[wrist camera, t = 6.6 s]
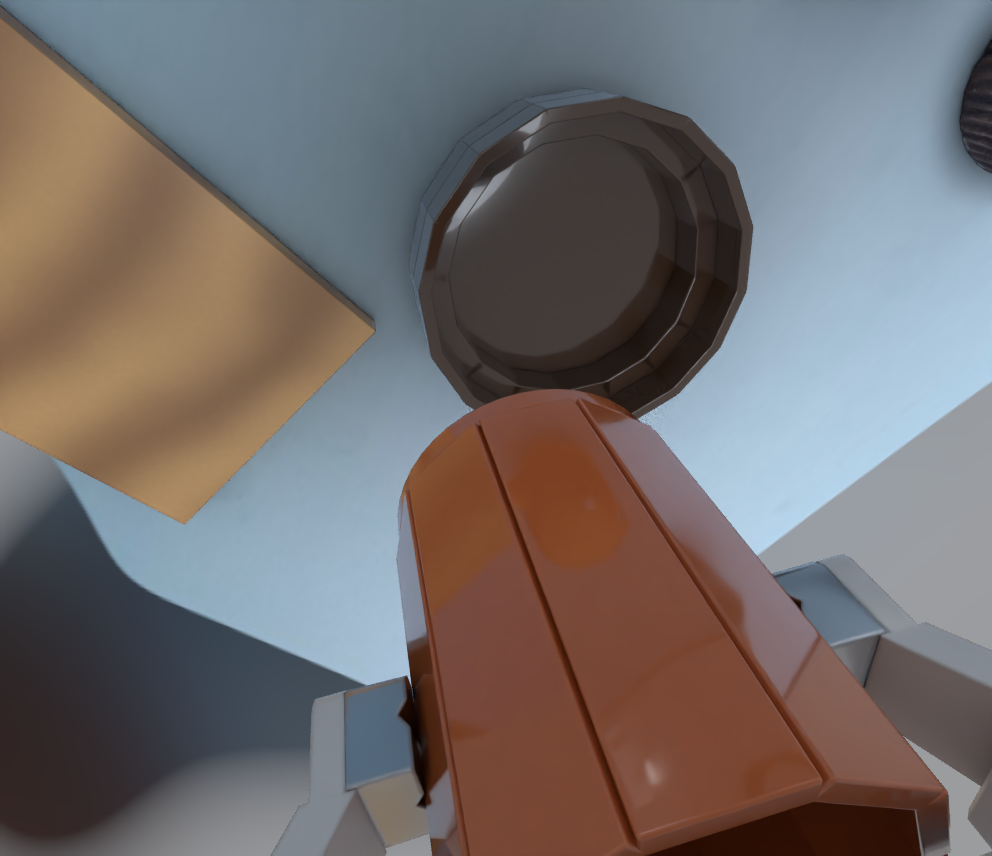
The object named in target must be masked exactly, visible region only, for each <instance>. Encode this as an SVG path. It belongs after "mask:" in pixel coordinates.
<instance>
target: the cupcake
mask: <svg viewBox="0 0 992 856" xmlns="http://www.w3.org/2000/svg"><path fill="white" fill-rule="evenodd" d="M960 125H961V131H962V134H963V142H964V144H965V147H966V149H967V151H968V153H969V154H970V155H971V156H972V158H973V159H974V160H975V162H976V163H977V165H979V166H980V167H982V168H983V169H984V170H986V171H988V172H990V173H992V40H991V41H990V43H989V45H988V46H987V48H986V52H985V55H984V56H983V57H982V59H981V60H980V61H979V63H978V64H977V65H976V67H975V69H974V71H973V74H972V76H971V78H970V80H969V83H968V85H967V87H966V90H965V92H964V100H963V107H962V113H961V118H960Z"/></svg>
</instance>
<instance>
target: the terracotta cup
mask: <svg viewBox="0 0 992 856" xmlns="http://www.w3.org/2000/svg"><path fill="white" fill-rule="evenodd" d="M398 533H399V544H398V552H397V559H396V560H397V568H398V576H399V585H400V593H401V601H402V609H403V618H404V626H405V634H406V643H407V651H408V659H409V668H410V676H411V684H412V693H413V701H414V709H415V718H416V726H417V734H418V742H419V751H420V759H421V767H422V776H423V784H424V792H425V801H426V809H427V817H428V826H429V834H430V842H431V851H432V856H948V853H950V851H951V850H952V849H951V832H950V813H949V796H948V792H947V790H946V789H945V788H944V787H943V785H942V784H941V783H940V782H939V780H938V779H937V778H936V777H935V775H934V774H933V773H932V772H931V771H930V769H929V768H928V767H927V765H926V764H925V763H924V762H923V761H922V759H921V758H920V757H919V756H918V754H917V753H916V752H915V751H914V750H913V748H912V747H911V746H910V745H909V743H908V742H907V741H906V740H905V738H904V737H903V736H902V735H901V733H900V732H899V731H898V730H897V728H896V727H895V726H894V725H893V723H892V722H891V721H890V720H889V719H888V717H887V716H886V715H885V714H884V712H883V711H882V710H881V709H880V707H879V706H878V705H877V704H876V703H875V701H874V700H873V699H872V698H871V696H870V695H869V694H868V693H867V691H866V690H865V689H864V688H863V686H862V685H861V684H860V683H859V682H858V680H857V679H856V678H855V677H854V675H853V674H852V673H851V672H850V670H849V669H848V668H847V667H846V665H845V664H844V663H843V662H842V661H841V659H840V658H839V657H838V656H837V654H836V653H835V652H834V651H833V649H832V648H831V647H830V646H829V644H828V643H827V642H826V641H825V640H824V638H823V637H822V636H821V635H820V633H819V632H818V631H817V630H816V628H815V627H814V626H813V625H812V623H811V622H810V621H809V620H808V619H807V617H806V616H805V615H804V614H803V612H802V611H801V610H800V609H799V607H798V606H797V605H796V604H795V602H794V601H793V600H792V599H791V598H790V596H789V595H788V594H787V593H786V591H785V590H784V589H783V588H782V586H781V585H780V584H779V583H778V581H777V580H776V579H775V578H774V577H773V575H772V574H771V573H770V572H769V570H768V569H767V568H766V567H765V565H764V564H763V563H762V562H761V561H760V559H759V558H758V557H757V556H756V554H755V553H754V552H753V551H752V549H751V548H750V547H749V546H748V544H747V543H746V542H745V541H744V539H743V538H742V537H741V536H740V535H739V533H738V532H737V531H736V530H735V528H734V527H733V526H732V525H731V523H730V522H729V521H728V520H727V519H726V517H725V516H724V515H723V514H722V512H721V511H720V510H719V509H718V507H717V506H716V505H715V504H714V502H713V501H712V500H711V499H710V498H709V496H708V495H707V494H706V493H705V491H704V490H703V489H702V488H701V486H700V485H699V484H698V483H697V481H696V480H695V479H694V478H693V477H692V475H691V474H690V473H689V472H688V470H687V469H686V468H685V467H684V465H683V464H682V463H681V462H680V460H679V459H678V458H677V457H676V456H675V454H674V453H673V452H672V451H671V449H670V448H669V447H668V446H667V444H666V443H665V442H664V441H663V439H662V438H661V437H660V436H659V435H658V433H657V432H656V431H655V430H653V429H652V427H651V426H649V425H647V424H644V423H642V422H640V421H639V420H638V419H637V418H636V417H635V416H634V415H633V414H632V413H630V412H629V411H628V410H626V409H625V408H624V407H622V406H620V405H618V404H616V403H615V402H613V401H611V400H609V399H606V398H603V397H601V396H598V395H595V394H591V393H587V392H582V391H577V390H566V389H544V390H534V391H528V392H522V393H517V394H514V395H510V396H507V397H503V398H500V399H497V400H495V401H493V402H490V403H488V404H485V405H483V406H481V407H479V408H477V409H475V410H473V411H472V412H470V413H468V414H466V415H464V416H463V417H461V418H460V419H459V420H457V421H456V422H454V423H453V424H452V425H450V426H449V427H447V428H446V429H445V430H444V431H443V432H442V433H441V434H440V435H439V436H438V437H436V438H435V439H434V440H433V441H432V442H431V444H430V445H429V446H428V447H427V448H426V449H425V451H424V452H423V453H422V454H421V456H420V457H419V459H418V460H417V462H416V463H415V465H414V466H413V468H412V469H411V471H410V474H409V476H408V478H407V480H406V482H405V484H404V487H403V490H402V494H401V497H400V501H399V508H398Z"/></svg>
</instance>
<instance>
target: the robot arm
mask: <svg viewBox="0 0 992 856" xmlns="http://www.w3.org/2000/svg"><path fill="white" fill-rule="evenodd" d="M772 575H773V577H774V578H775V579H776V580H777V581H778V583H779V584H780V585H781V586H782V588H783V589H784V590H785V591H786V593H787V594H788V595H789V596H790V598H791V599H792V600H793V601H794V602H795V604H796V605H797V606H798V607H799V609H800V610H801V611H802V612H803V614H804V615H805V616H806V617H807V619H808V620H809V621H810V622H811V623H812V625H813V626H814V627H815V628H816V630H817V631H818V632H819V633H820V635H821V636H822V637H823V638H824V640H825V641H826V642H827V643H828V644H829V646H830V647H831V648H832V649H833V651H834V652H835V653H836V654H837V656H838V657H839V658H840V659H841V661H842V662H843V663H844V664H845V665H846V667H847V668H848V669H849V670H850V672H851V673H852V674H853V675H854V677H855V678H856V679H857V680H858V682H859V683H860V684H861V685H862V686H863V688H864V689H865V690H866V691H867V693H868V694H869V695H870V696H871V698H872V699H873V700H874V701H875V703H876V704H877V705H878V706H879V707H880V709H881V710H882V711H883V712H884V714H885V715H886V716H887V717H888V719H889V720H890V721H891V722H892V723H893V725H894V726H895V727H896V728H897V730H898V731H899V732H900V733H901V735H902V736H904V737H906V738H907V739H909V740H910V741H912V742H913V743H915V744H916V745H918V746H920V747H921V748H923V749H924V750H926V751H927V752H929V753H930V754H932V755H934V756H935V757H937V758H938V759H940V760H941V761H943V762H944V763H946V764H948V765H949V766H951V767H952V768H954V769H955V770H957V771H958V772H960V773H961V774H963V775H964V776H966V777H967V778H969V779H971V780H972V781H974V782H975V783H977V784H978V785H980V786H981V788H980V790H979V792H978V793H977V795H976V797H975V799H974V800H973V802H972V804H971V806H970V808H969V812H968V820H969V821H970V822H971V824H972V825H973V826H974V827H975V828H976V830H977V831H978V832H979V834H980V835H981V836H982V837H983V839H984V840H985V841H986V842H987V844H988V845H989V846H990V847H991V848H992V650H989V649H987V648H985V647H982V646H980V645H978V644H976V643H973V642H971V641H969V640H966V639H964V638H962V637H959V636H957V635H954V634H952V633H950V632H948V631H945V630H943V629H941V628H938V627H936V626H934V625H931V624H929V623H927V622H926V623H921V624H917V623H916V622H915V621H914V620H913V619H912V618H911V617H910V616H909V615H908V614H907V613H906V612H905V611H904V610H903V609H902V608H901V607H900V606H899V605H898V604H897V603H896V602H895V601H894V600H893V599H892V598H891V597H890V596H889V595H888V594H887V593H886V592H885V591H884V590H883V589H882V588H881V587H880V586H879V585H878V584H877V583H876V582H875V581H874V580H873V579H872V578H871V577H870V576H869V575H868V574H867V573H866V572H865V571H864V570H863V569H862V568H861V567H860V566H859V565H858V564H857V563H856V562H855V561H854V560H853V559H851V558H850V557H848V556H846V555H844V554H843V555H837V556H834V557H830V558H827V559H824V560H821V561H817V562H810V563H806V564H803V565H800V566H796V567H793V568H789V569H786V570H783V571H779V572H776V573H772ZM311 716H312V717H311V744H310V773H309V802H308V803H306V804H303V805H301V806H299V807H298V808H297V810H296V812H295V814H294V816H293V817H292V819H291V821H290V823H289V824H288V826H287V828H286V830H285V831H284V833H283V835H282V837H281V838H280V840H279V842H278V844H277V845H276V847H275V849H274V851H273V852H272V854H271V856H385V855H386V850H385V848H388V847H390V846H393V845H396V844H399V843H402V842H405V841H408V840H411V839H414V838H417V837H420V836H423V835H426V834H429V826H428V817H427V809H426V801H425V792H424V784H423V776H422V767H421V759H420V751H419V742H418V734H417V726H416V718H415V709H414V702H413V695H412V687H411V685H410V682H409V679H408V677H407V676H403V677H399V678H395V679H391V680H387V681H383V682H379V683H375V684H371V685H367V686H363V687H360V688H356V689H352V690H348V691H343V692H340V693H336V694H332V695H328V696H325V697H322V698H318V699H315V701H314V704H313V707H312V715H311ZM980 856H992V852H989V853H986V854H983V855H980Z"/></svg>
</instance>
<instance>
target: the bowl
mask: <svg viewBox="0 0 992 856" xmlns="http://www.w3.org/2000/svg"><path fill="white" fill-rule="evenodd" d="M752 234H753V224H752V221H751V217H750V214H749V211H748V208H747V204H746V201H745V198H744V194H743V191H742V188H741V184H740V181H739V178H738V174H737V171H736V168H735V166H734V164H733V163H732V162H731V161H730V159H729V158H728V157H727V156H726V155H725V154H724V153H723V152H722V151H721V150H720V149H719V148H718V147H717V146H716V145H715V144H714V143H713V142H712V140H711V139H710V138H709V137H708V136H707V135H706V134H705V133H704V132H703V131H702V130H701V129H700V128H699V127H698V126H697V125H696V124H695V123H694V122H693V120H692V119H691V118H689V117H688V116H684V115H681V114H678V113H675V112H672V111H669V110H666V109H662V108H659V107H656V106H653V105H650V104H647V103H644V102H640V101H637V100H634V99H631V98H628V97H625V96H621V95H616V94H611V93H607V92H602V91H597V90H593V89H585V88H584V89H578V90H572V91H566V92H560V93H554V94H548V95H542V96H536V97H530V98H524V99H521V100H518V101H516V102H515V103H513V104H512V105H510V106H509V107H507V108H506V109H504V110H503V111H501V112H500V113H498V114H497V115H495V116H494V117H492V118H491V119H489V120H488V121H486V122H485V123H484V124H482V125H481V126H479V127H478V128H476V129H475V130H473V131H472V132H470V133H469V134H467V135H466V136H464V137H463V138H462V139H461V140H459V142H458V143H457V145H456V146H455V148H454V149H453V151H452V152H451V154H450V155H449V157H448V158H447V160H446V162H445V163H444V165H443V166H442V168H441V169H440V171H439V172H438V174H437V175H436V177H435V178H434V180H433V181H432V183H431V184H430V186H429V187H428V189H427V190H426V192H425V193H424V195H423V196H422V199H421V203H420V208H419V213H418V218H417V223H416V228H415V233H414V238H413V243H412V248H411V253H410V258H409V269H410V273H411V278H412V283H413V288H414V293H415V298H416V303H417V307H418V312H419V317H420V322H421V325H422V328H423V331H424V335H425V338H426V342H427V345H428V348H429V351H430V355H431V357H432V359H433V360H434V362H435V363H436V365H437V366H438V367H439V369H440V370H441V371H442V373H443V374H444V376H445V377H446V378H447V380H448V381H449V382H450V384H451V385H452V386H453V388H454V389H455V391H456V392H457V393H458V395H459V396H460V397H461V399H462V400H463V402H464V403H465V404H466V405H467V406H469V407H471V408H473V409H477V408H479V407H481V406H483V405H485V404H488V403H490V402H493V401H495V400H497V399H500V398H503V397H507V396H510V395H514V394H517V393H522V392H528V391H534V390H544V389H566V390H577V391H582V392H587V393H591V394H595V395H598V396H601V397H603V398H606V399H609V400H611V401H613V402H615V403H616V404H618V405H620V406H622V407H624V408H625V409H626V410H628V411H629V412H630V413H632V414H633V415H634V416H635V417H636V418H637V419H638V418H640V417H641V416H643V415H645V414H647V413H648V412H650V411H652V410H653V409H655V408H657V407H658V406H660V405H662V404H663V403H665V402H667V401H668V400H670V399H672V398H673V397H675V396H677V394H679V393H680V392H681V391H682V390H683V388H684V387H685V386H686V385H687V384H688V383H689V382H690V381H691V380H692V379H693V377H694V376H695V375H696V374H697V373H698V372H699V371H700V370H701V369H702V368H703V366H704V365H705V364H706V363H707V362H708V361H709V360H710V359H711V358H712V357H713V356H714V354H715V353H716V352H717V351H718V350H719V348H720V347H721V345H722V343H723V341H724V339H725V336H726V334H727V332H728V330H729V328H730V326H731V324H732V321H733V319H734V317H735V315H736V313H737V311H738V309H739V306H740V304H741V302H742V300H743V298H744V296H745V294H746V290H747V283H748V273H749V263H750V254H751V244H752Z"/></svg>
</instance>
